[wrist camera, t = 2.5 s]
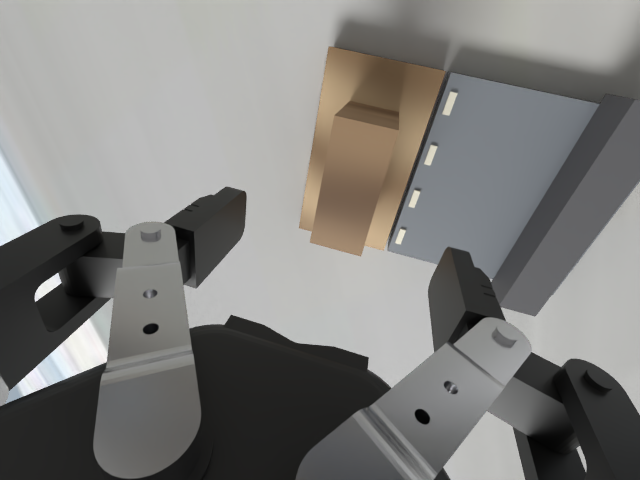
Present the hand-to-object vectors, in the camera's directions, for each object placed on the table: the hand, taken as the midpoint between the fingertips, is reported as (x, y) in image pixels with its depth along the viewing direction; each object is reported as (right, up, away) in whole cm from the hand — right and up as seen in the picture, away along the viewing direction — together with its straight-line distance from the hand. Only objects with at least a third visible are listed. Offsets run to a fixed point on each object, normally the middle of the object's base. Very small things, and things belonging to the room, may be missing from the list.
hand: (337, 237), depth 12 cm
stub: (+2, +6, +9) cm, 11 cm away
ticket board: (+11, +3, +8) cm, 15 cm away
